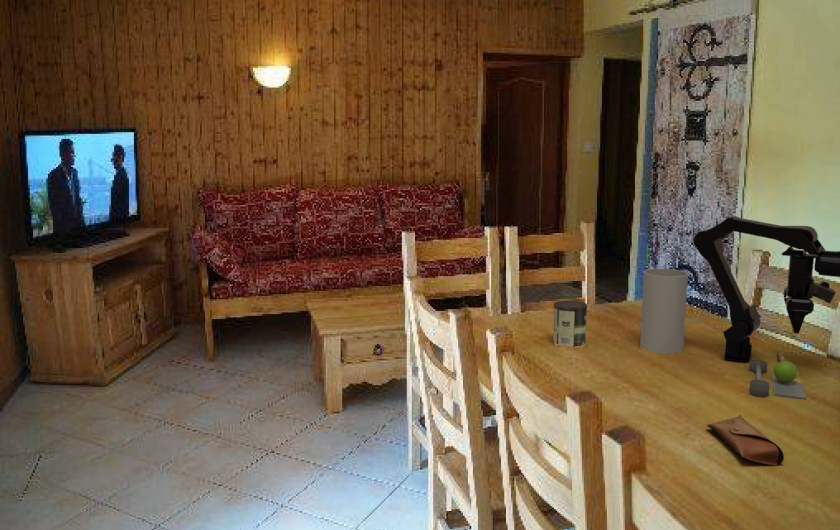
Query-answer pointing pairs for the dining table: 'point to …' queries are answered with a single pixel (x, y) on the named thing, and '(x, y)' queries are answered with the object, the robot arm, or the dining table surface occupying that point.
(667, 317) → the cylinder vase
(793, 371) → the green bulbous piece
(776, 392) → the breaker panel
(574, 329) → the coffee can
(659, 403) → the dining table surface
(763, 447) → the sunglasses case
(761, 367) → the gray dumbbell
